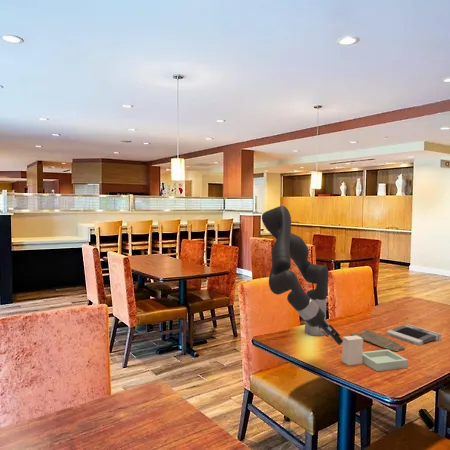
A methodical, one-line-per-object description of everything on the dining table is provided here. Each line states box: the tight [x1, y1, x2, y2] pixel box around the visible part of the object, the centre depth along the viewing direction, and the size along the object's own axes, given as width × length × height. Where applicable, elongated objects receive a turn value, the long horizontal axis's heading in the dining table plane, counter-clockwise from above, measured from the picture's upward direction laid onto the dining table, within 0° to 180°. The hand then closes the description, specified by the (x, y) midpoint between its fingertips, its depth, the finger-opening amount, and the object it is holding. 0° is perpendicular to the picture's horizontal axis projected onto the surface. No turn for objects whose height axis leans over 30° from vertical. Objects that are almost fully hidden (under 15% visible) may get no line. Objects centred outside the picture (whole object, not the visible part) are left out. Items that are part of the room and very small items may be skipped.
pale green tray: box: [362, 348, 409, 372], centre depth 156 cm, size 11×14×3 cm
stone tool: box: [350, 329, 405, 352], centre depth 180 cm, size 11×3×25 cm
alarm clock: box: [386, 323, 442, 347], centre depth 187 cm, size 17×5×16 cm
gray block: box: [341, 335, 364, 366], centre depth 156 cm, size 4×6×10 cm, turn 107°
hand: (334, 338), depth 154 cm, fingers open, 8 cm apart
